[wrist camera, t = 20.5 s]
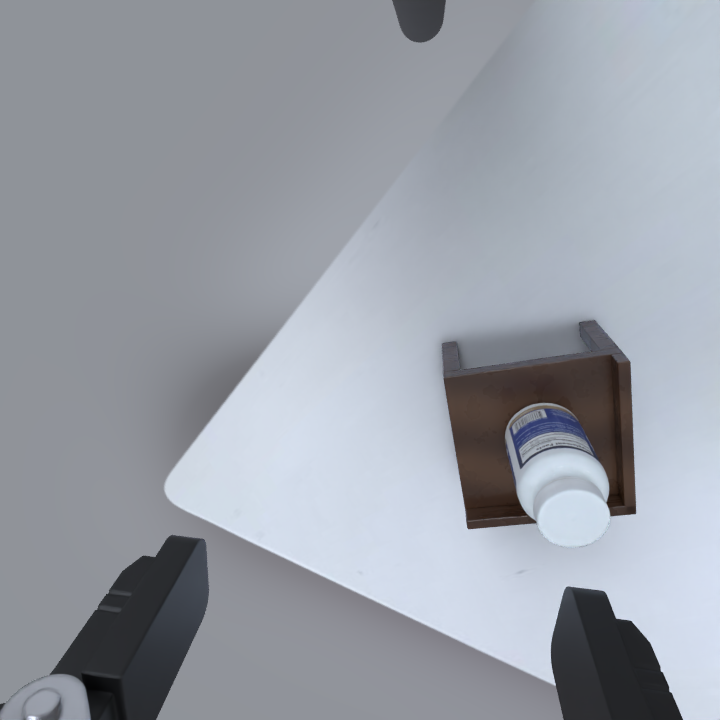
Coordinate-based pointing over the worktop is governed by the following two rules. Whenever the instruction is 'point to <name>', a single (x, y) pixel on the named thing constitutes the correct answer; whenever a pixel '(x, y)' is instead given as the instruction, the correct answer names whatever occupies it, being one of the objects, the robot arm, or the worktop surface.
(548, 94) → the worktop surface
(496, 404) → the small wooden side table
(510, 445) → the pill bottle
